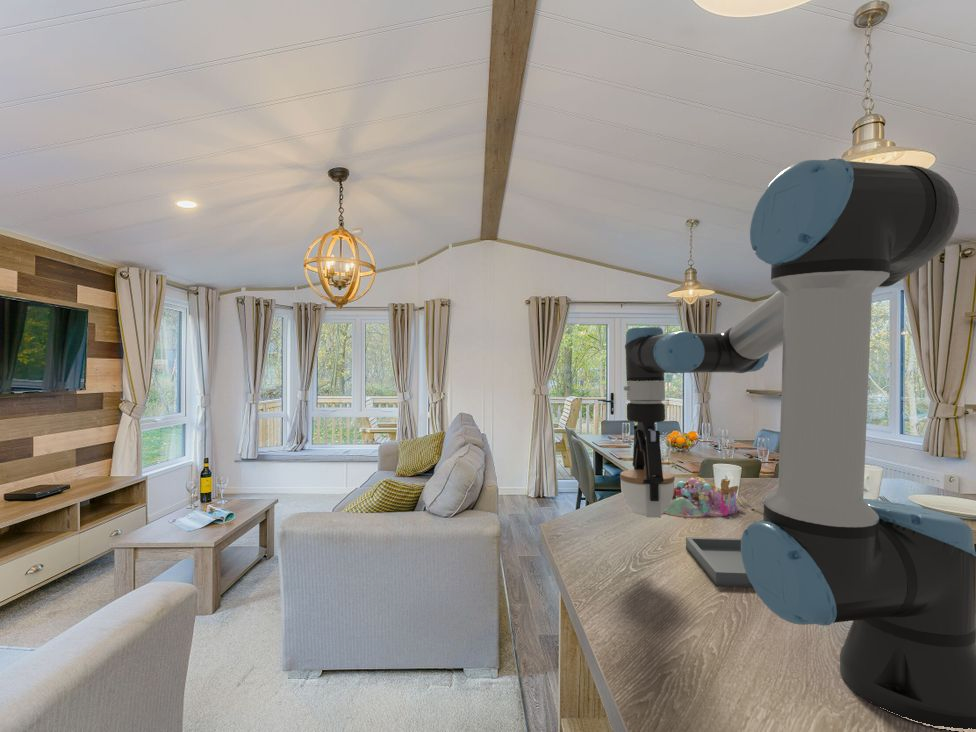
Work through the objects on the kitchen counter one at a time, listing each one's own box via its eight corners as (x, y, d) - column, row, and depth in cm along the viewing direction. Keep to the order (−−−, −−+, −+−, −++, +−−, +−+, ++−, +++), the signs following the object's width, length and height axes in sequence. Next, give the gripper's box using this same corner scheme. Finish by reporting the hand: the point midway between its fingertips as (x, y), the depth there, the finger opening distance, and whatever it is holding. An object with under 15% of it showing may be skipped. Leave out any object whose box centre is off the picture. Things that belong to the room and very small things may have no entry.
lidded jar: (679, 520, 97) (678, 471, 98) (622, 517, 100) (621, 470, 100) (670, 506, 108) (670, 462, 108) (619, 504, 110) (618, 461, 110)
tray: (829, 589, 93) (829, 576, 93) (715, 585, 95) (715, 572, 95) (778, 550, 113) (778, 539, 113) (685, 548, 115) (685, 537, 115)
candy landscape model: (678, 494, 166) (678, 465, 166) (752, 509, 148) (752, 477, 148) (632, 507, 150) (632, 476, 151) (708, 525, 132) (708, 490, 132)
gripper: (618, 399, 116) (620, 495, 116) (637, 405, 93) (639, 525, 93) (652, 399, 115) (653, 496, 115) (679, 405, 92) (681, 526, 92)
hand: (647, 509), depth 104 cm, fingers closed on lidded jar, 11 cm apart
